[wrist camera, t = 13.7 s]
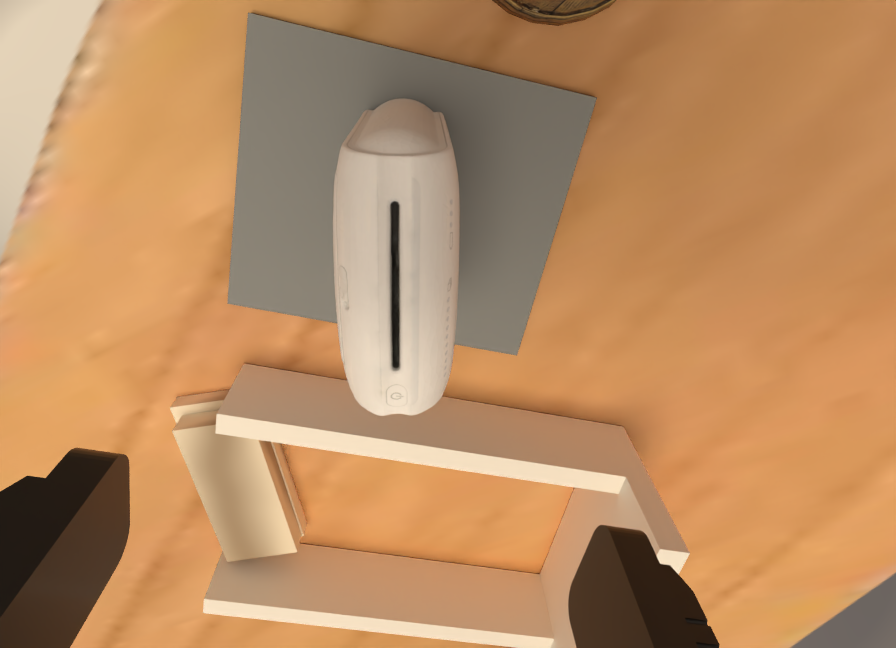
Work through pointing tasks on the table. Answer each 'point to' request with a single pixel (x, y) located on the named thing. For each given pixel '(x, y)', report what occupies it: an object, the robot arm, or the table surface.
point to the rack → (426, 581)
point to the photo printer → (397, 257)
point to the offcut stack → (238, 482)
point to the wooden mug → (554, 10)
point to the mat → (316, 157)
